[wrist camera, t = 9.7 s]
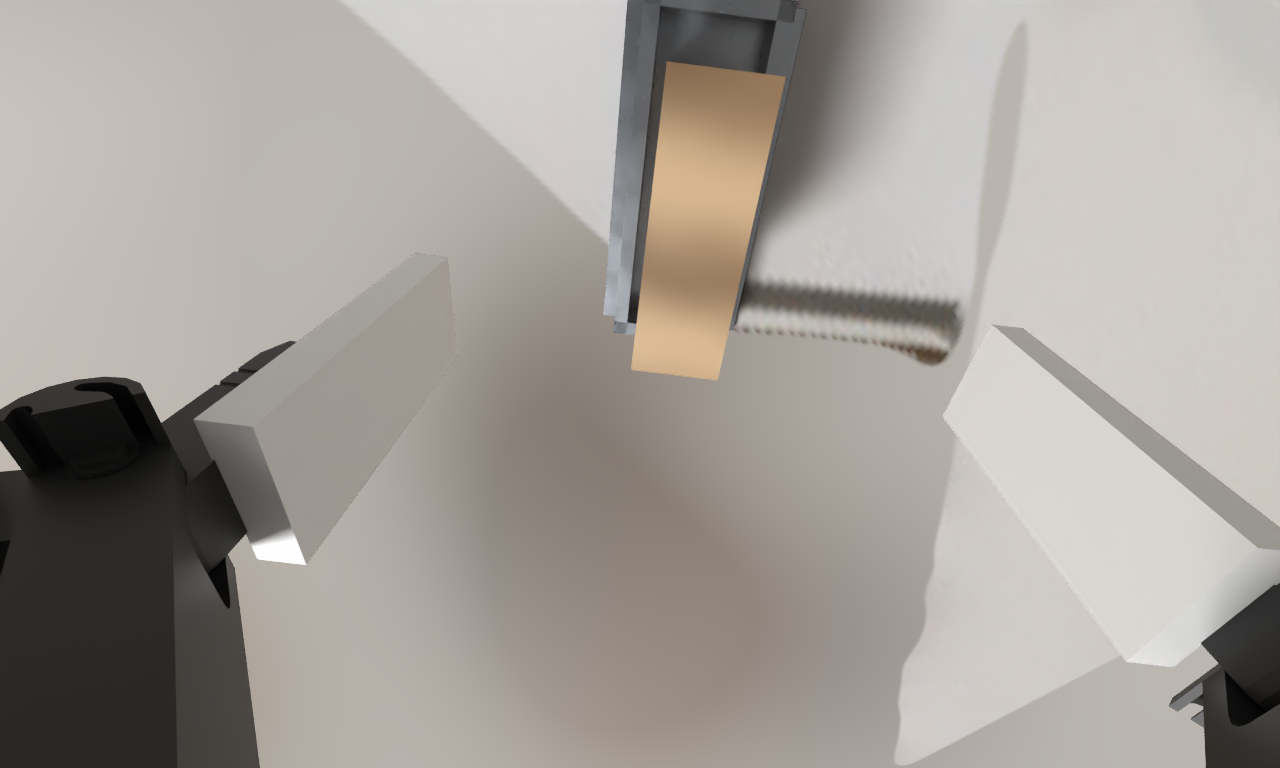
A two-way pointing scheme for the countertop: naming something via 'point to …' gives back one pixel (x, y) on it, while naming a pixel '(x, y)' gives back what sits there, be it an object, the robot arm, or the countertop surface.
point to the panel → (701, 213)
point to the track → (656, 33)
